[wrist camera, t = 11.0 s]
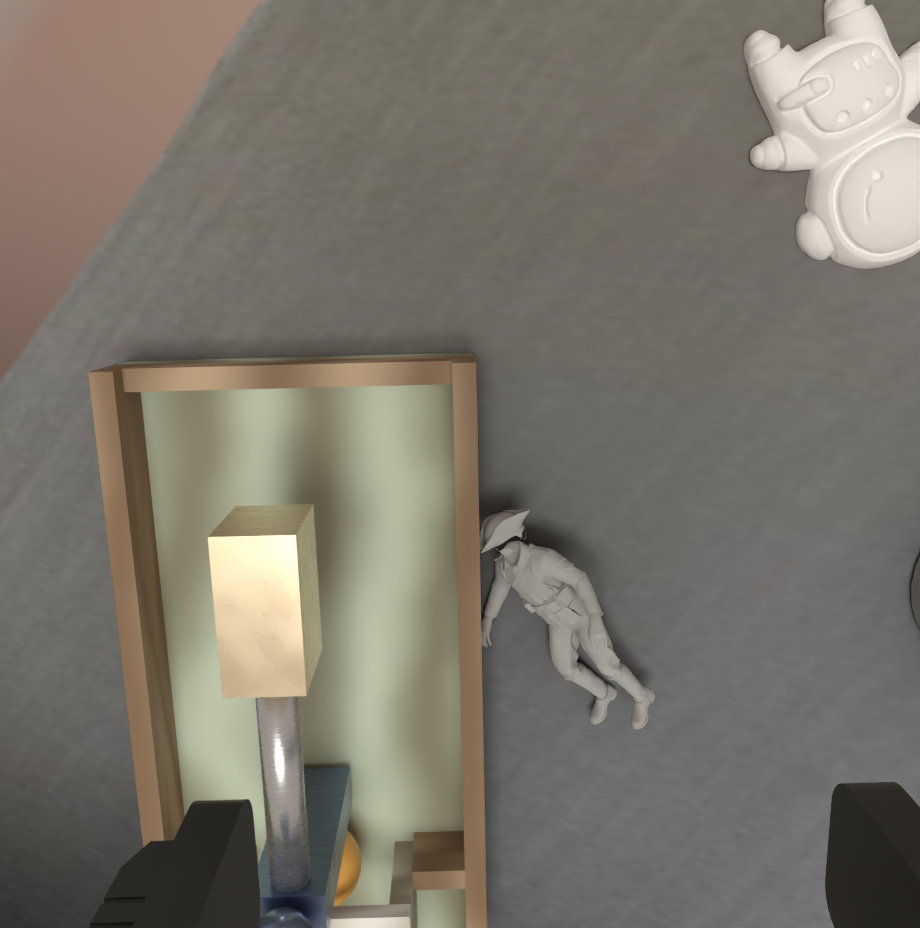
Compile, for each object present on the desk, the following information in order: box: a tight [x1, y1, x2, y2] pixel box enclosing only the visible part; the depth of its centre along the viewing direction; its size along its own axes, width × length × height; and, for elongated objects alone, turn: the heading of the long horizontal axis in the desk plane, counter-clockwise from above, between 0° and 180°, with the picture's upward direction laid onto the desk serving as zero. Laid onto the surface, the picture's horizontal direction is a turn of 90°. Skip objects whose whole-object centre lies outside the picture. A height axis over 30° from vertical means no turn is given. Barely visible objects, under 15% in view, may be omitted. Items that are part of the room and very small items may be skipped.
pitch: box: [88, 353, 487, 928], centre depth 40 cm, size 16×30×7 cm, turn 1°
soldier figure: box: [480, 509, 655, 729], centre depth 41 cm, size 8×5×12 cm
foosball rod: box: [208, 504, 352, 928], centre depth 36 cm, size 3×17×12 cm, turn 1°
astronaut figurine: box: [744, 0, 920, 269], centre depth 38 cm, size 9×12×3 cm
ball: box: [334, 830, 362, 906], centre depth 42 cm, size 4×4×4 cm
